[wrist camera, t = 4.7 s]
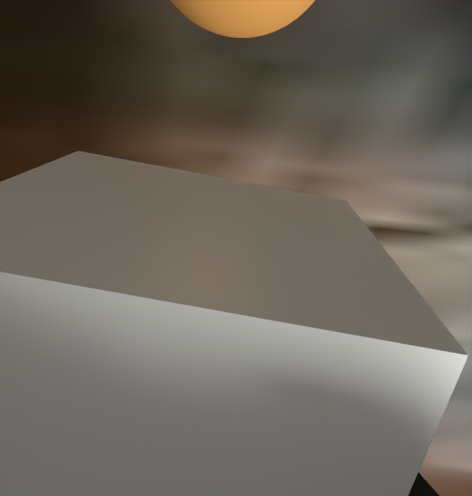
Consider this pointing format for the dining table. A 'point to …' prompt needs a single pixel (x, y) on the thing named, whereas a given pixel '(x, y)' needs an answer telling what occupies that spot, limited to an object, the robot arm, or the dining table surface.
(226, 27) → the ball
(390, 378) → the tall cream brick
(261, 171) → the dining table surface
